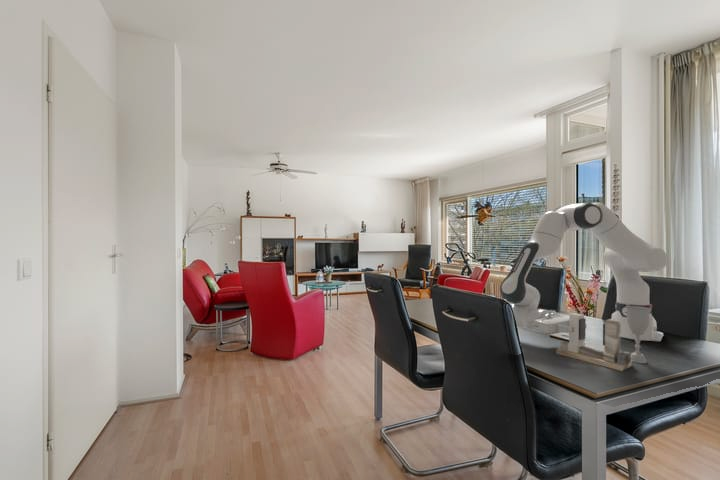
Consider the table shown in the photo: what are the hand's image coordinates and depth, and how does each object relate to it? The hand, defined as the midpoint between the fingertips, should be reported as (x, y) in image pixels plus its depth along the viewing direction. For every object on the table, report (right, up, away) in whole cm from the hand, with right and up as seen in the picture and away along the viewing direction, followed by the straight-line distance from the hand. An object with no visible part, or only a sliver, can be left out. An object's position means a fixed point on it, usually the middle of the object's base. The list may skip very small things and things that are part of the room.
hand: (579, 328), depth 123 cm
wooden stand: (+2, -10, -3) cm, 11 cm away
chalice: (+17, -10, -4) cm, 20 cm away
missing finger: (-1, -8, +1) cm, 8 cm away
